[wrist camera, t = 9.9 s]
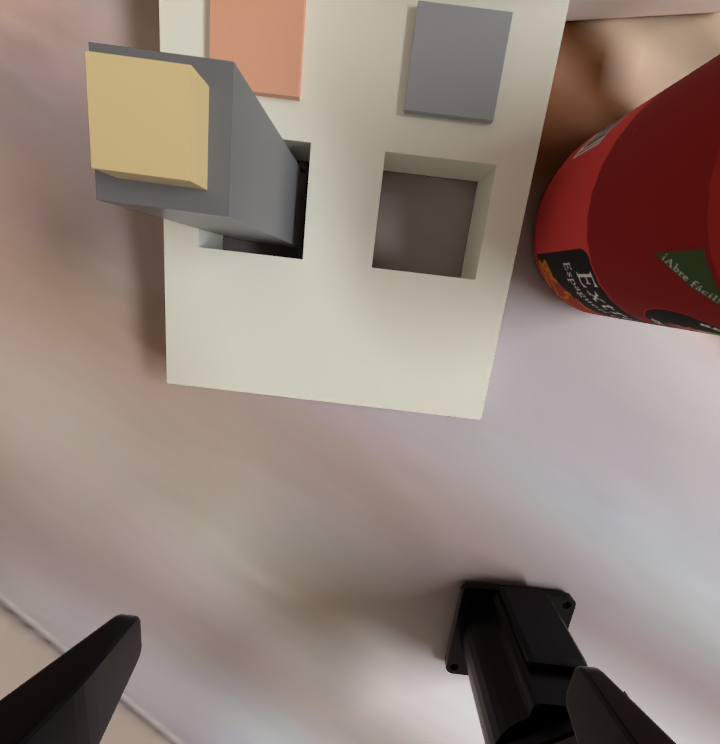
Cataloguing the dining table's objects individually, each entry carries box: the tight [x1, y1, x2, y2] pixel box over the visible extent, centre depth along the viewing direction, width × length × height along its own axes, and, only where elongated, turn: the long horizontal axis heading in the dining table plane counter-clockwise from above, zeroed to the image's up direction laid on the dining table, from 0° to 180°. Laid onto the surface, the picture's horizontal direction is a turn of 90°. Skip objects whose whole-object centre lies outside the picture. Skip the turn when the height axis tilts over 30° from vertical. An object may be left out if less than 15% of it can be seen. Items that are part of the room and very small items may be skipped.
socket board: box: [159, 0, 570, 420], centre depth 15 cm, size 16×14×3 cm
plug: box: [85, 42, 307, 248], centre depth 12 cm, size 3×3×10 cm
